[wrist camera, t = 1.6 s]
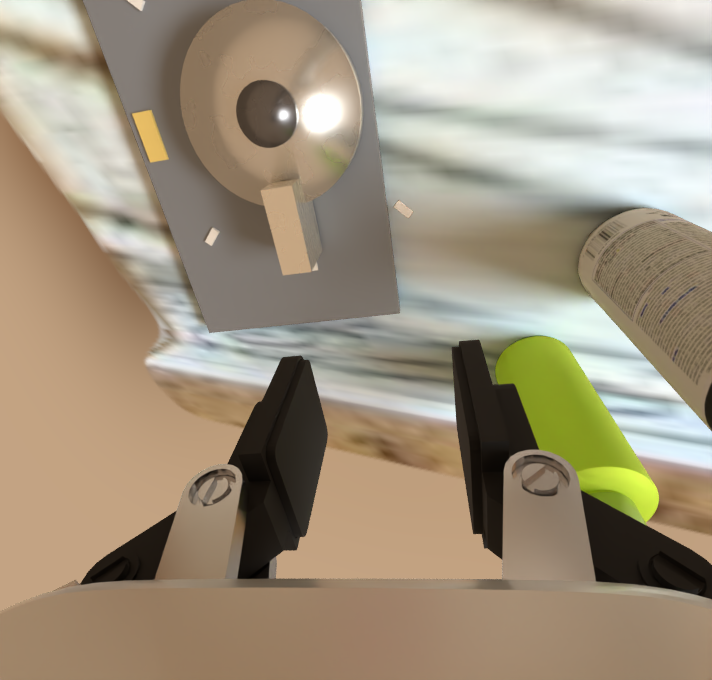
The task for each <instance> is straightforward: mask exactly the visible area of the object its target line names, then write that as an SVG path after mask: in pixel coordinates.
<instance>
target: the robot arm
mask: <svg viewBox="0 0 712 680" xmlns="http://www.w3.org/2000/svg"><path fill="white" fill-rule="evenodd" d="M452 360H453V375H454V391H455V407H456V422H457V431H458V438H459V445H460V451H461V458H462V464H463V471H464V477H465V484H466V490H467V496H468V503H469V509H470V516H471V522H472V529H473V534H482V538H483V544H484V548H488V549H489V550H490V551H492V552H493V553H494V554H495V555H497V556H498V557H500V558H501V559H502V561H503V563H502V565H503V566H502V579H499V580H498V579H495V580H494V579H276V565H277V561H276V556H277V555H278V554H280V553H281V552H282V551H283V550H297V547H298V543H299V538H300V537H304V536H305V535H306V533H307V529H308V525H309V520H310V516H311V511H312V507H313V502H314V497H315V493H316V488H317V484H318V479H319V475H320V470H321V466H322V462H323V457H324V452H325V448H326V443H327V437H328V433H327V426H326V422H325V419H324V415H323V411H322V407H321V403H320V399H319V395H318V392H317V388H316V384H315V380H314V376H313V372H312V368H311V364H310V362H309V360H304V359H303V357H302V356H292V357H283V358H282V359H281V361H280V363H279V365H278V367H277V370H276V372H275V374H274V376H273V378H272V381H271V383H270V385H269V387H268V389H267V391H266V394H265V396H264V398H263V400H262V402H258V403H257V404H256V405H255V407H254V409H253V411H252V413H251V415H250V417H249V419H248V422H247V424H246V426H245V428H244V430H243V432H242V434H241V436H240V439H239V441H238V443H237V445H236V447H235V449H234V451H233V454H232V456H231V458H230V460H229V462H228V464H220V465H216V466H212V467H209V468H207V469H205V470H203V471H201V472H200V473H198V474H197V475H196V476H195V477H193V478H192V479H191V481H190V482H189V483H188V484H187V485H186V487H185V489H184V491H183V493H182V497H181V499H180V502H179V506H178V509H177V511H176V512H174V513H172V514H171V515H169V516H168V517H166V518H165V519H163V520H161V521H160V522H158V523H157V524H155V525H154V526H152V527H150V528H149V529H147V530H146V531H144V532H143V533H141V534H139V535H138V536H136V537H135V538H133V539H132V540H130V541H129V542H127V543H125V544H124V545H122V546H121V547H119V548H117V549H116V550H115V551H113V552H111V553H110V554H108V555H107V556H105V557H104V558H103V559H101V560H100V561H99V562H97V563H96V564H95V565H94V566H93V567H92V569H90V571H89V572H88V573H87V575H86V576H85V578H84V579H83V580H82V582H81V583H80V584H79V583H78V582H77V581H76V580H74V581H72V582H70V583H68V584H66V585H64V586H62V587H60V588H58V589H56V590H54V591H52V592H48V593H45V594H42V595H39V596H36V597H33V598H30V599H28V600H25V601H23V602H20V603H17V604H15V605H13V606H11V607H8V608H7V609H4V610H2V611H0V680H712V565H711V564H710V563H709V562H708V561H707V560H705V559H704V558H703V557H701V556H700V555H698V554H697V553H695V552H694V551H692V550H691V549H689V548H687V547H685V546H683V545H681V544H680V543H678V542H676V541H674V540H672V539H670V538H669V537H667V536H665V535H663V534H661V533H659V532H658V531H656V530H654V529H652V528H650V527H648V526H646V525H645V524H643V523H641V522H639V521H637V520H635V519H634V518H632V517H630V516H628V515H626V514H624V513H623V512H621V511H619V510H617V509H615V508H613V507H611V506H610V505H608V504H606V503H604V502H602V501H600V500H599V499H597V498H595V497H593V496H591V495H589V494H587V493H586V492H584V491H582V490H580V484H579V478H578V476H577V473H576V471H575V469H574V468H573V467H572V466H571V464H570V463H569V462H568V461H566V460H565V459H563V458H562V457H560V456H558V455H556V454H554V453H551V452H548V451H543V450H539V448H538V445H537V442H536V439H535V437H534V434H533V431H532V429H531V426H530V423H529V421H528V418H527V415H526V413H525V410H524V407H523V405H522V402H521V399H520V397H519V394H518V391H517V388H516V386H515V384H513V383H511V384H497V385H493V384H492V381H491V378H490V374H489V371H488V367H487V364H486V361H485V357H484V354H483V351H482V347H481V344H480V341H479V340H470V341H459V347H452Z"/></svg>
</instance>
